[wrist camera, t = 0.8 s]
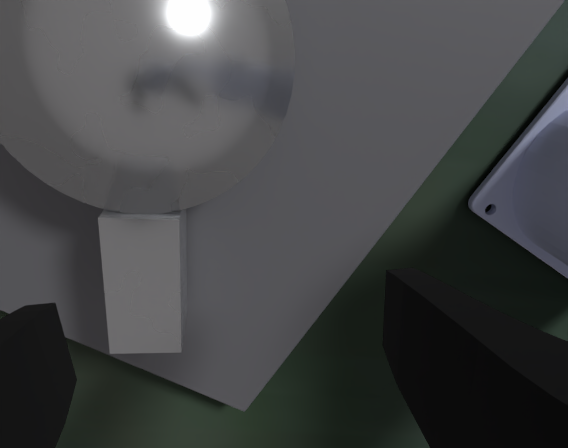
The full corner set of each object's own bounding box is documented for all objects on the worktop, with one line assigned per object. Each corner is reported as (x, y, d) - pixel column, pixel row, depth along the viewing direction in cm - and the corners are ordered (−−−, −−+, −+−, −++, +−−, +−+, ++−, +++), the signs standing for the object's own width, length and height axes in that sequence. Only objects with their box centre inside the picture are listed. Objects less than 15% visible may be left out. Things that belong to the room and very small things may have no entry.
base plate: (570, -40, 17) (606, -49, 15) (243, 389, 23) (244, 414, 21) (-41, -686, 10) (-89, -819, 9) (-286, 159, 16) (-341, 172, 14)
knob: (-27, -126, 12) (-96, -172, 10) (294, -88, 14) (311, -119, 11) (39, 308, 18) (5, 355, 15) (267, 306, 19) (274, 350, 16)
